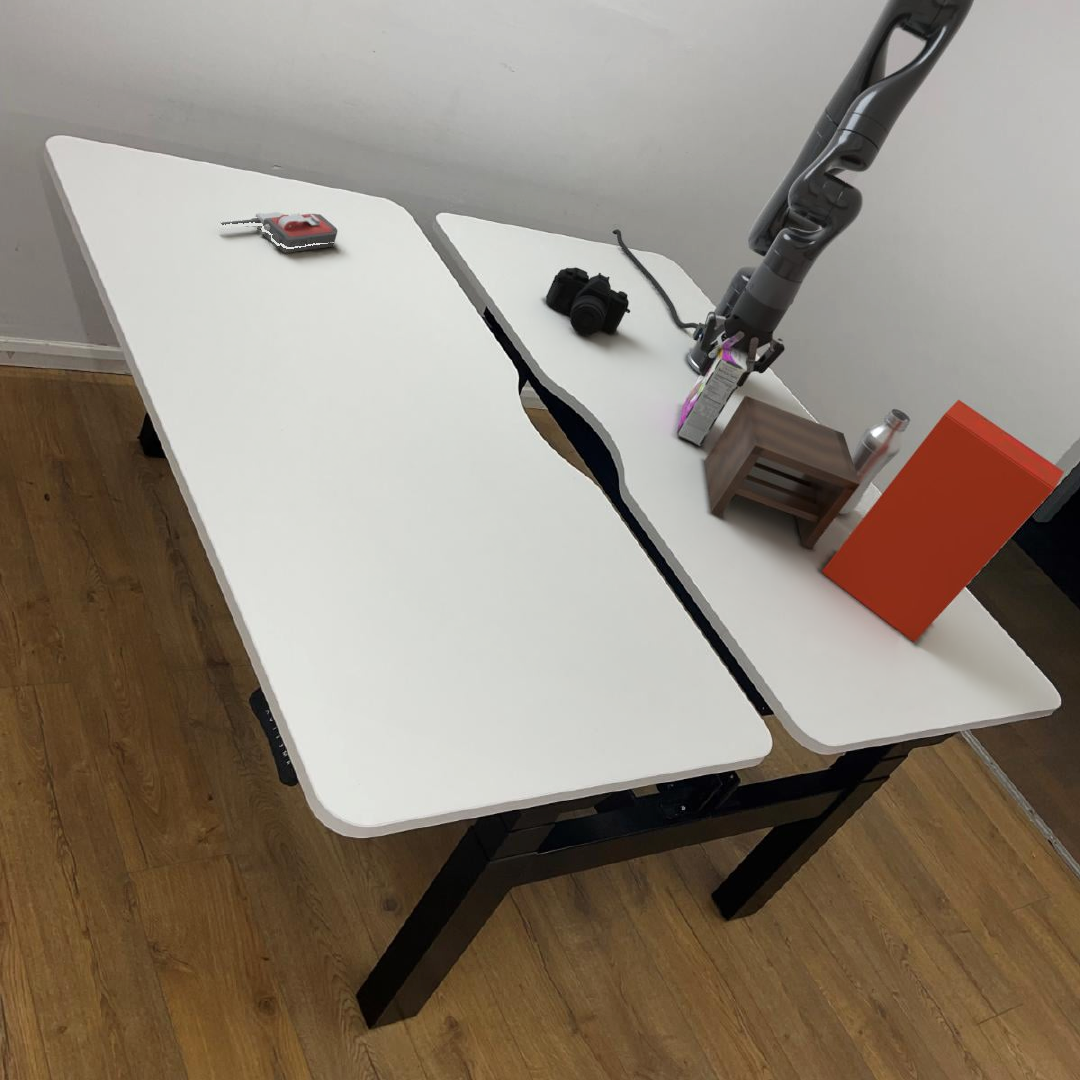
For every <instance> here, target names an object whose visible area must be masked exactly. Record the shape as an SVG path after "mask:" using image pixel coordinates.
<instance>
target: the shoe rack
mask: <svg viewBox="0 0 1080 1080" xmlns="http://www.w3.org/2000/svg"><path fill="white" fill-rule="evenodd" d="M703 465H704V470H705V478H706V479H705V480H706V487H707V493H708V500H709V501H708V502H709V507H710V514H713V515H716V516H718V517H721V516H722V515H723V513H724V511H725V509H726V508H727V507H728V505H729V503H730V502H731V500H732V499H733V497H734V496H735V495H739V496H740V497H744V498H747V499H749V500H752V501H754V502H757V503H759V504H763V505H766V506H769V507H771V508H774V509H777V510H780V511H782V512H785V513H788V514H791V515H793V516H795V518H796V522H797V527H798V532H799V536H800V539H801V544H802V546H803V547H804V548H808V549H813V547H814V546H815V545H816V543H817V542H818V541H819V540H820V538H821V537H822V536H823V535H824V533H825V532H826V530H827V529H828V528H829V527H830V525H831V523H833V521H835V520H834V519H836V517H837V516H838V515H839V514H840V513H839V512H840V510H841V509H842V508H843V506H844V505H845V504H846V502H847V501H848V500H849V498H850V497H851V496H852V494H853V493H854V492H855V491H856V489H857V488H858V487H859V485H860V483H859V480H858V477H857V474H856V470H855V467H854V464H853V461H852V458H851V452H850V449H849V446H848V443H847V440H846V436H845V434H844V432H842V431H839V430H836V429H834V428H831V427H828V426H825V425H824V424H821V423H818V422H815V421H812V420H810V419H807V418H805V417H802V416H800V415H797V414H795V413H792V412H789V411H787V410H784V409H782V408H779V407H776V406H774V405H771V404H769V403H766V402H764V401H761V400H759V399H756V398H753V397H750V396H748V395H744V397H743V398H742V400H741V402H740V403H739V405H738V406H737V408H736V410H735V411H734V413H733V414H732V415H731V418H729V421H728V422H727V423H726V426H725V427H724V428H723V430H722V432H721V433H720V435H719V436H718V438H717V440H716V442H715V443H714V445H713V446H712V448H711V449H710V452H709V453H708V455H707V456H706V457H705V459H704V461H703Z"/></svg>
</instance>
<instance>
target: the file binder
mask: <svg viewBox="0 0 1080 1080" xmlns="http://www.w3.org/2000/svg"><path fill="white" fill-rule="evenodd" d="M1064 473H1065V471H1064V470H1063V469H1061V468H1059V467H1058V466H1057V465H1055V464H1054V463H1052V462H1051V461H1049V460H1048V459H1046V458H1045V457H1043V456H1042V455H1041V454H1039V453H1038V452H1037V451H1035V450H1034V449H1032V448H1031V447H1029V446H1028V445H1026V444H1024V442H1022V441H1020V440H1018V439H1017V438H1016V437H1014V436H1013V435H1012V434H1010V433H1009V432H1007V431H1005V430H1004V429H1003V428H1001V427H1000V426H998V425H997V424H995V423H994V422H993V421H991V420H989V419H988V418H986V417H985V416H984V415H982V414H981V413H979V412H977V411H976V410H975V409H974V408H972V407H971V406H969V405H968V404H966V403H965V402H963V401H962V400H960V399H957V401H956V402H955V403H954V404H952V405H951V406H950V408H948V410H947V411H946V412H945V413H944V414H943V415H942V416H941V418H940V419H939V421H938V422H937V423H936V424H935V425H934V427H933V428H932V429H931V430H930V432H929V433H928V435H927V436H926V437H925V438H924V440H922V442H921V443H920V445H919V446H918V447H917V448H916V450H915V451H914V452H913V454H912V455H911V456H910V458H909V459H908V460H906V463H905V464H904V465H903V467H902V468H901V469H900V470H899V471H898V473H897V475H895V477H894V478H893V479H892V481H891V482H890V483H889V484H888V485H887V487H886V488H885V490H884V491H883V492H882V493H881V494H880V496H879V497H878V498H877V499H876V501H875V502H874V504H873V505H872V506H871V508H870V509H869V510H868V511H867V512H866V514H865V515H864V517H863V518H862V519H861V521H859V523H858V524H857V526H856V527H855V528H854V529H853V531H852V532H851V533H850V535H848V537H847V538H846V540H845V541H844V542H843V543H842V545H841V546H840V548H839V549H838V550H837V551H836V552H835V554H833V556H832V558H831V559H830V560H829V562H828V563H827V564H826V565H825V567H824V568H823V569H822V570H821V573H822V574H823V575H825V576H826V577H827V578H829V579H830V580H831V581H832V582H834V583H835V584H836V585H838V586H839V587H840V588H841V589H842V590H844V591H845V592H847V593H848V594H849V595H851V596H852V597H853V598H854V599H856V600H857V601H859V602H860V603H861V604H863V605H864V606H865V607H867V609H869V610H870V611H872V612H873V613H874V614H875V615H877V616H878V617H879V618H881V619H882V620H883V621H884V622H886V623H887V624H889V625H890V626H891V627H893V628H894V629H895V630H897V631H898V632H899V633H900V634H902V635H903V636H904V637H906V638H907V639H908V640H910V641H911V642H912V643H915V642H916V641H918V639H919V638H920V637H921V636H922V635H923V634H924V633H925V632H926V630H928V628H929V627H930V626H931V625H932V624H933V623H934V622H935V621H936V620H937V618H938V617H939V616H940V615H942V613H943V612H944V611H945V610H946V609H947V608H948V606H949V605H950V604H951V603H952V602H953V601H954V600H955V599H956V598H957V597H958V595H959V594H960V593H961V592H963V590H964V589H965V588H966V586H967V585H968V584H969V583H970V582H971V581H973V579H974V578H975V577H976V576H977V575H978V573H980V572H981V570H982V569H983V568H984V567H985V566H986V565H987V564H988V562H990V561H991V559H992V558H993V557H994V556H995V555H996V554H997V553H998V552H999V551H1000V550H1001V548H1002V547H1003V546H1004V545H1005V544H1006V543H1007V542H1008V541H1009V540H1010V538H1011V537H1012V536H1013V535H1014V534H1015V533H1016V532H1017V531H1018V530H1019V528H1020V527H1022V526H1023V524H1024V523H1025V522H1027V520H1028V519H1029V518H1030V516H1031V515H1033V513H1034V512H1035V511H1036V510H1037V509H1038V508H1039V507H1040V506H1041V505H1042V503H1043V502H1044V501H1045V500H1046V499H1047V498H1048V497H1049V496H1050V495H1051V494H1052V492H1054V490H1055V489H1056V487H1057V485H1058V483H1059V482H1060V481H1061V479H1062V477H1063V475H1064Z"/></svg>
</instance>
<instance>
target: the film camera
mask: <svg viewBox="0 0 1080 1080" xmlns="http://www.w3.org/2000/svg"><path fill="white" fill-rule="evenodd" d="M610 279H611V278H610V276H605V275H603V274H602V273H601V272H598V274H597V275H594V276H591V277H590V276H589V275H588V271H586V270H584V269H581V268H579V267H566V268H562V269H560V270H559V271H558V272H557V274H555V275H554V278H553V280H552V282H551V285H550V287H549V288H548V291H547V294H546V296H545V303H546V305H547V306H549V307H550V308H552V309H554V310H556V311H558V312H560V313H562V314H565V315H567V316H569V320H570V325H571V327H572V328H573V330H574V331H575V332H576V333H577V334H579V335H582V336H592V335H595V334H596V333H598V331H602V332H604V333H607V334H608V335H612V334H615V332H617V329H618V328H619V326H620V324H621V322H622V320H623V318H624V316H625V314H626V313H627V314H630V313H631V310H630V309H629V304H630V301H629V299H628V294H627V293H626V292H625V291H621V290H619V291H618V292H617V291H616V290H614V289H612V288H611V286H612V285H611V284H610Z"/></svg>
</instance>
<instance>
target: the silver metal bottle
mask: <svg viewBox="0 0 1080 1080" xmlns="http://www.w3.org/2000/svg"><path fill="white" fill-rule="evenodd" d="M911 422H912V420H911V417H910V416H909V415H908V414H906V412H904V411H902V410H901V409H898V408H891V409H890V410H889V412H888V413H887V414H886V415H885V416H884V418H883V421H880V422H877V423H874V424H872V425H870V426H869V427H867V428H866V429H865V430H864V432H863V433H862V435H861V437H860V438H859V441H858V442H857V444H856V447H855V448H854V450H853V451H852V453H850V455H851V458H852V461H853V464H854V467H855V470H856V474H857V477H858V480H859V483H860V485H859V487H858V488H857V489H856V491H855V492H854V493H853V494H852V496H851V497H850V498H849V500H848V501H847V502H846V504H845V505H844V506H843V508H842V509H841V510H840V512H839V513H838V514H840V515H841V514H842V515H843V514H844V515H845V514H849V513H852V512H853V511H854V510H855V509H856V508H857V507H858V506H859V504H860V503H861V501H862V500H863V497H864V494H865V493H866V491H867V489H868V488H869V486H870V485H871V483H872V482H873V480H874V479H875V478H876V477H877V475H878V474H879V473H880V472H881V471H882V470H883V469H884V468H885V466H887V465H888V464H889V463H890V462H891V461H892V460H893V459H894V458H895V457H896V456H897V455H898V454H899V453H900V451H901V448H902V444H903V435H902V434H903V433H904V432H905V431H906V430H907V428H908V426H909V425H910V423H911ZM902 432H903V433H902Z"/></svg>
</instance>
